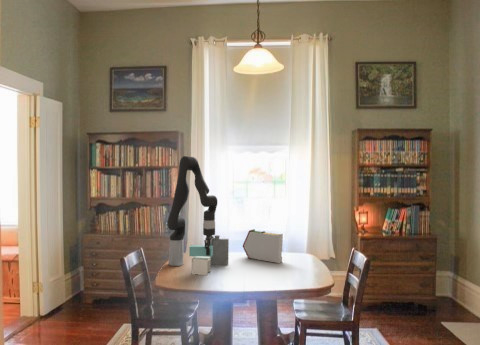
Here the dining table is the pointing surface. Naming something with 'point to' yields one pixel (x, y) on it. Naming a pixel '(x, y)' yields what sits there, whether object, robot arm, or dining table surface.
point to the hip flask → (219, 251)
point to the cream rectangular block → (200, 265)
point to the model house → (263, 246)
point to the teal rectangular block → (199, 250)
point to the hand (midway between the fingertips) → (209, 254)
